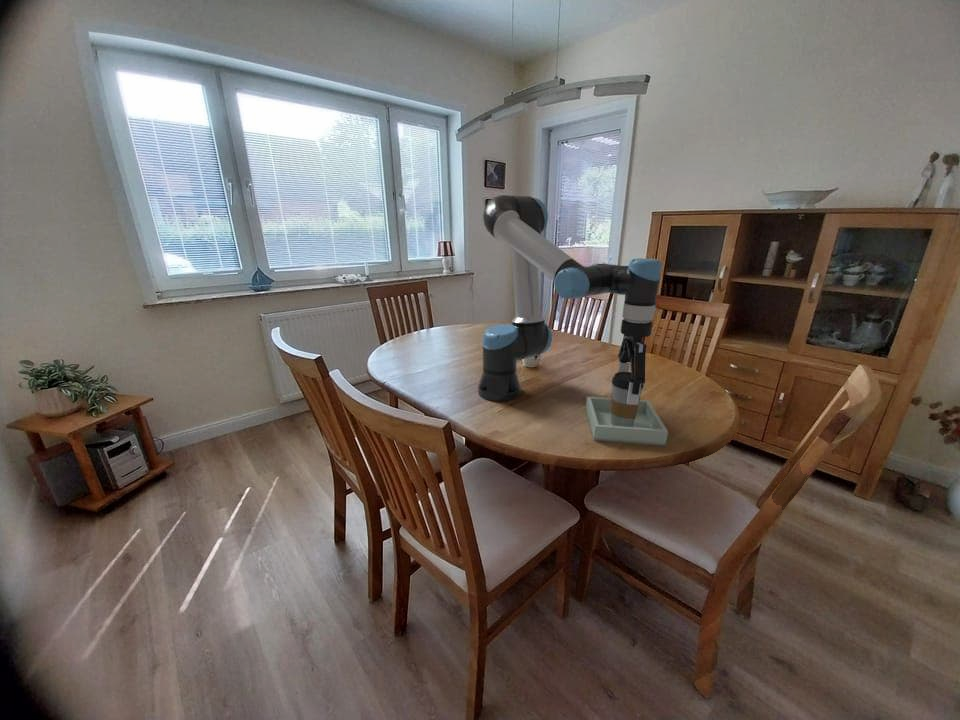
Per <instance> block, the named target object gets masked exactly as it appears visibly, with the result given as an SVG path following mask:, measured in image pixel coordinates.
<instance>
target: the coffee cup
mask: <svg viewBox="0 0 960 720" xmlns="http://www.w3.org/2000/svg"><path fill="white" fill-rule="evenodd" d="M630 379H631V371H628V372H615V374H614V376H613V377H612V380H611V393H610V394H611V397H610V398H611V411H610V413H611V417H610V421H611V424H612V425H613V426H624V427H632V426H633V425H634V420H635V418H636V414H637V410H638V405H639V402H638V405H632V404H627V397H628V391H629V384H630V382H629V380H630ZM643 388H644V383H641V390H640V396H639V401H640V400H641V395H642V391H643Z"/></svg>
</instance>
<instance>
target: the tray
mask: <svg viewBox="0 0 960 720" xmlns="http://www.w3.org/2000/svg"><path fill="white" fill-rule="evenodd" d="M585 405H586V406H585V411H586V415H587V420H588V423H589V427H590V430H591V431H590V432H591V436H592V440H593V441H595V442H596V441H598V442H607V443H608V442H609V443H611V442H612V443H623V444H624V443H625V444H633V445H635V444H637V445H649V446H662V447H666V444H667V439H668V435H669V430H668V429H667V428H666V426H665V424H664V423H663V421H662V419H661V418H660V417H659V415H658V413H657V411H656V410H655V408H654V407H653V405H652V404H651V402H650V401H649V400H648V399H647V400H646V399H640V401H639V405H638V410H637V414H636V418H635V420H634V425H633V426H632V427H624V426H613V425H612V424H611V421H610V417H611V413H610V411H611V397H600V396H599V397H597V396H586V404H585Z"/></svg>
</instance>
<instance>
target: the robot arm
mask: <svg viewBox="0 0 960 720" xmlns="http://www.w3.org/2000/svg"><path fill="white" fill-rule="evenodd" d="M548 213H549V212H548V208H547V207H546V204H545V203H544V202H543V201H542V200H541V199H539V198H538V197H532V196H530V195H527V196H525V195H524V196H523V195H508V194H507V195H506V194H501V195H498V196H494V197H493V198H492V199H490V200H489V201H488V202H487V204H486V205H485V207H484V210H483V213H482V219H483V225H484V226H485V229H486V231H488V233H489V235H491V236H492V238H494V239H496V241H499V242H505V243H506V244H507V245H509V247H511V254H512V273H513V275H512V277H513V288H514V293H513V294H514V308H515V316H514V318H513V319H512V320H511V324H508V323H504V324H496V325H492V326H490V327H487V329H485V331H484V332H483V334H482V344H481V345H482V373H481V376H480V379H479V383H478V385H477V393H478V396H480V397H481V398H483V399H485V400H487V401H494V402H506V401H510V400H511V401H512V400H516V399H517V398H518V397H520V396H521V392H522V391H521V390H522V386H521V383H520V379H519V376H518V373H517V363H518V361H522V360H526V359H528V358H533V357H537V356H540V355H541V354H544V353H546V352H547V351H548V350H549V348H550V347H551V345H552V340H553V334H552V330H551V329H550V326H549V325H548V324H547V323H545V321H546V319H545V317H543V316H542V314H541V307H540V306H541V305H540V284H539V283H540V282H539V271H540V272H542V273H543V274H544V275H545V276H547V277H548V278H549V279H550V280H551V281H552V282H554V283H553V285H554V290H556V294H557V295H558V297H561V298H563V299H565V300H571V299H572V300H575V299H581V298H585V297H590V296H597V295H601V294H603V295H604V294H616V295H622V296H624V302H623V307H622V308H623V309H622V320H621V325H620V333H621V334H622V335H623V337H622V342H621V345H620V347H619V352H618V354H617V357H618V362H619V363H618V372H631V379H630V380H629V382H630V384H629V391H628V397H627V404H632V405H638V402H639V396H640V390H641V383H643V384H646V354H647V353H646V351H647V347H648V346H647V344H646V343H645V344H644V342H643V339H644V338H648V337H650V336H651V335H652V330H653V324H654V323H653V320H654V317H655V312H656V311H657V309H658V308H657V307H656V304H657V297H658V292H659V286H660V281H661V279H662V278H661V277H662V276H661V274H662V262H661V260H660V259H656V258H641V257H639V258H632V259H631V260H630V261H629V264H628V265H618V264H610V263H605V262H604V263H592V264H591V265H590V266H584V265H582V264H581V263H579V262H578V261H577V260H575V259H574V258H573V257H572V256H570V255H569V254H567V253H566V252H565V251H563V250H562V249H561V248H560V247H558V246H556V245H555V244H554V243H552V242H551V240H549V239H547V238H545V236H544V235H542V232H544V231H545V229H546V226H548V221H549V214H548ZM629 370H630V371H629ZM618 372H617V373H618ZM640 397H641V396H640Z"/></svg>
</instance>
